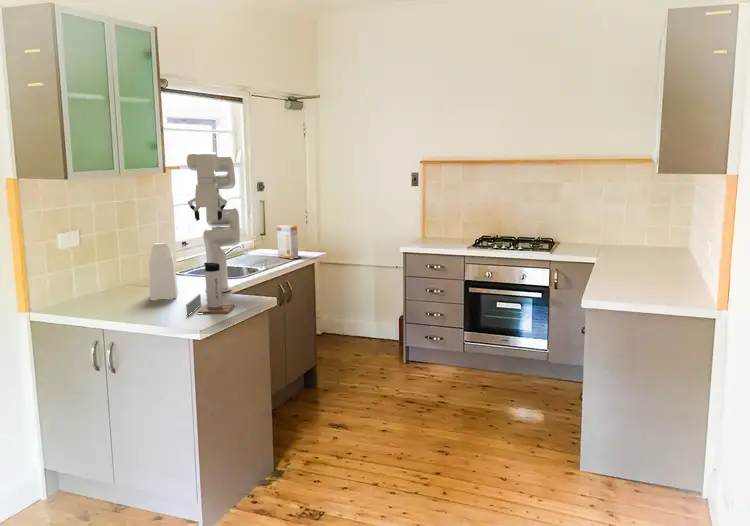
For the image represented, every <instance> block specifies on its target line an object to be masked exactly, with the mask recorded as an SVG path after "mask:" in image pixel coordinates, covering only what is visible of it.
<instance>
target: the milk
mask: <svg viewBox="0 0 750 526" xmlns="http://www.w3.org/2000/svg"><path fill="white" fill-rule="evenodd" d="M170 248H171V247H170V246H169V244H168V243H167V242H158V243H153V245H152V248H151V251H150V256H149V259H148V260H149V261H148V262H149V263H148V274H149V301H150V300H152V301H158V300H157V299H167V300H174V299H173V298H177V299H178V295H177V294H178V293H179V292H178V285H177V284H178V283H177V276H176V267H175V259H174V255H173V252H172V250H171V249H170Z"/></svg>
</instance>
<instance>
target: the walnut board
mask: <svg viewBox="0 0 750 526" xmlns="http://www.w3.org/2000/svg"><path fill="white" fill-rule="evenodd" d="M234 306H235V304H234V303H231V304H230V303H229V304H222V308H220V309H215V310H211V309H208V307H207V304H205V305H204V306H202V307H201V308H200V309H199V310H198V311H197V314H198V313H203V314H202V315H217V314H218V315H224V314H225V315H226V314H227V315H228V314H229V313H230V312H231V311H232V310H233V309H234V308H235V307H234Z"/></svg>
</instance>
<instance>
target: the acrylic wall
mask: <svg viewBox="0 0 750 526" xmlns="http://www.w3.org/2000/svg"><path fill="white" fill-rule="evenodd" d="M201 296H202V295H201V293H198V294H197V295H196V296H195V297H194V298H192V299H191V300H189V301H188V302H186V304H185V307H186V316H187V315H189V314H190V313H191V312H193V311H194V310H195V309H196V308H197V307H198V306H199V307H201V306H202V300H201V299H202V297H201ZM199 307H198V308H199ZM198 308H197V309H198ZM197 309H196V310H197ZM196 310H195V311H196ZM195 311H194V312H195ZM194 312H193V313H194ZM191 314H192V313H191ZM191 314H190V315H191ZM190 315H189V316H190Z"/></svg>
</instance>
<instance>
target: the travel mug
mask: <svg viewBox="0 0 750 526" xmlns="http://www.w3.org/2000/svg"><path fill="white" fill-rule="evenodd" d="M203 265H204V270H205V271H204V272H205V273H204V275H205V286H206V288H205V289H206V291H207V292H206V291H205V292H206V305H207V307H208V309H211V310H215V309H220V308H222V305H223V298H222V297H223V296H222V295H223V294H222V292H221V278H220V265H219V264H217V263H207V262H203Z"/></svg>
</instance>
